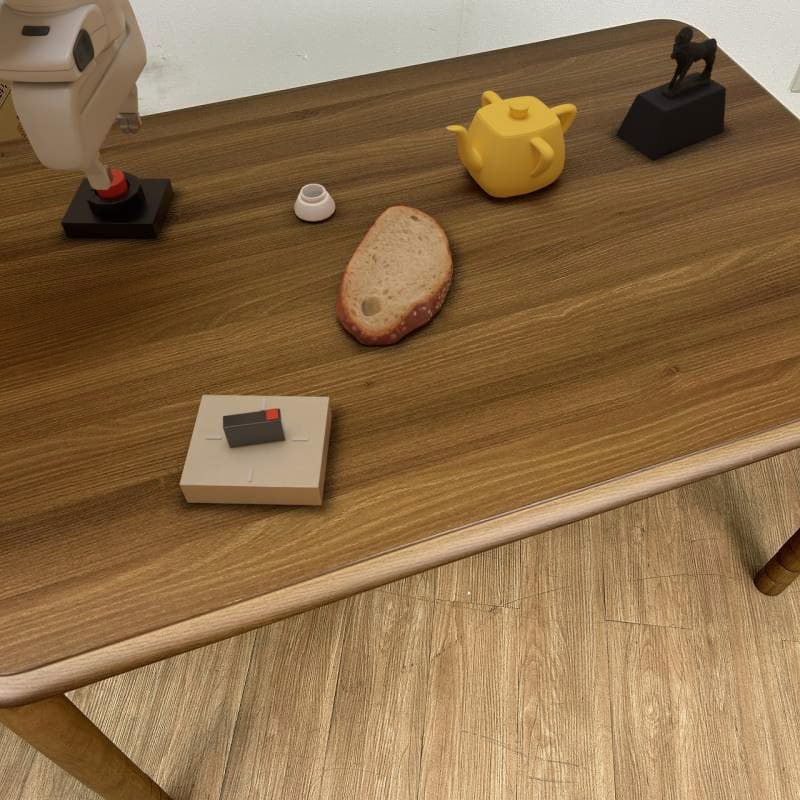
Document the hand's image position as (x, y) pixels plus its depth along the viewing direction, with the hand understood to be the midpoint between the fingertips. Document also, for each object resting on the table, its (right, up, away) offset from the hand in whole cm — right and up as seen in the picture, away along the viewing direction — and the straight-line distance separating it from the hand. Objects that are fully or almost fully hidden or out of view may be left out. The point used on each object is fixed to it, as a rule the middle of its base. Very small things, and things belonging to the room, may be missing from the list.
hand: (118, 156), depth 73 cm
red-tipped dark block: (+15, -27, -6) cm, 32 cm away
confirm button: (-7, +1, +16) cm, 18 cm away
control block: (-7, -1, +19) cm, 20 cm away
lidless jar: (+17, -1, +19) cm, 26 cm away
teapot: (+41, +4, +23) cm, 47 cm away
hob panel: (+15, -29, -4) cm, 33 cm away
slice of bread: (+27, -10, +11) cm, 31 cm away
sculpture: (+65, +13, +29) cm, 72 cm away
